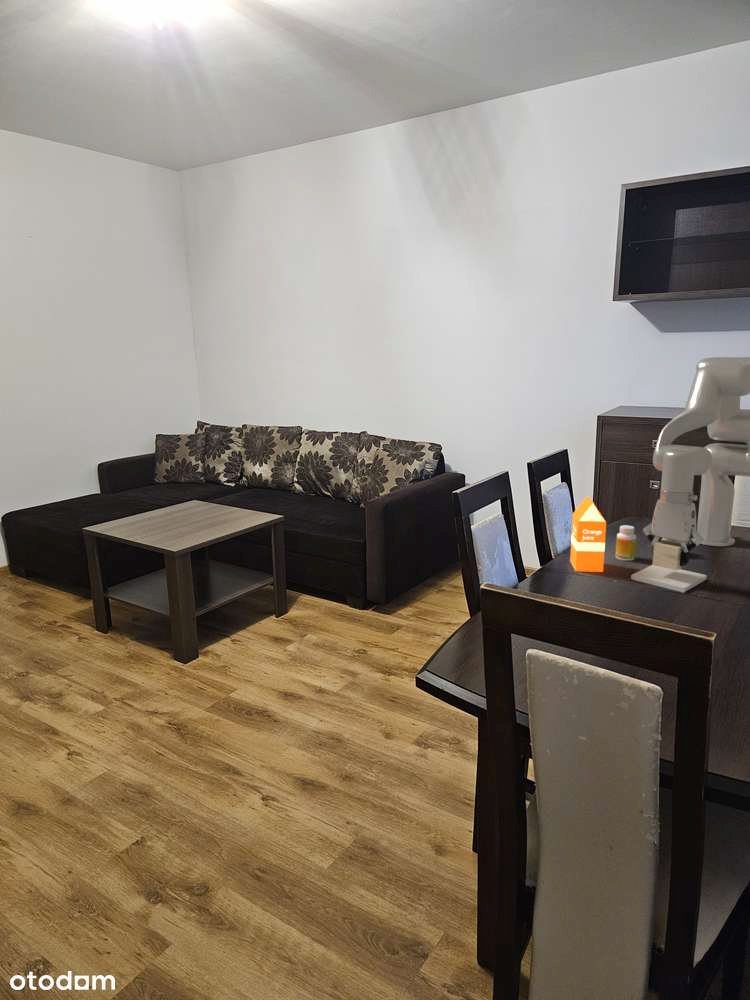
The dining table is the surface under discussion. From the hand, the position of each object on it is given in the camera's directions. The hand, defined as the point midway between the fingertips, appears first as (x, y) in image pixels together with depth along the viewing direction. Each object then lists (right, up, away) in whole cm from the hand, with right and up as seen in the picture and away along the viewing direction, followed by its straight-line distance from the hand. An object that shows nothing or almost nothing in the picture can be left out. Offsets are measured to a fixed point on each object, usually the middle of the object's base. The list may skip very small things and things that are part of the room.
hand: (669, 561), depth 171 cm
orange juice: (-18, -3, +13) cm, 22 cm away
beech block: (0, -1, 0) cm, 1 cm away
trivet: (0, -5, +1) cm, 5 cm away
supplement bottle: (-4, -1, +19) cm, 20 cm away
